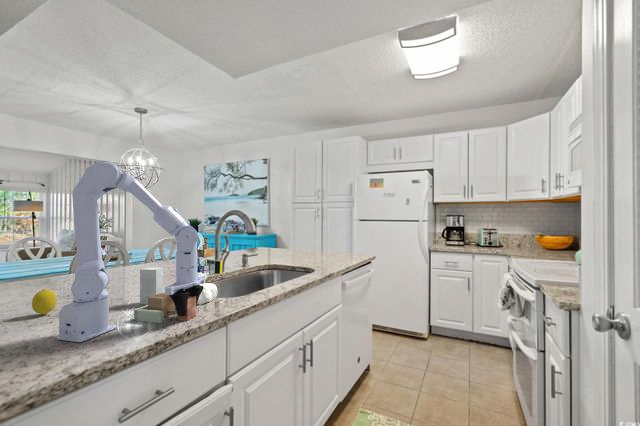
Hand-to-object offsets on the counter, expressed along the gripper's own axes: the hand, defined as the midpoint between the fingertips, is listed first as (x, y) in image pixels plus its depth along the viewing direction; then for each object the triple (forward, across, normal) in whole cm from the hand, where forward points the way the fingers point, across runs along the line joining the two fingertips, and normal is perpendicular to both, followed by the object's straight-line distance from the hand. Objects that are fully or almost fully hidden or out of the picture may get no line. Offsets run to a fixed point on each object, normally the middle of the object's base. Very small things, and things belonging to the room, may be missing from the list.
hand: (186, 313), depth 84 cm
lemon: (+2, -8, +44) cm, 45 cm away
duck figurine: (+2, +15, +6) cm, 16 cm away
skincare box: (+2, +10, +22) cm, 25 cm away
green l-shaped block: (+1, 0, +9) cm, 9 cm away
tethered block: (+1, 0, +5) cm, 5 cm away
